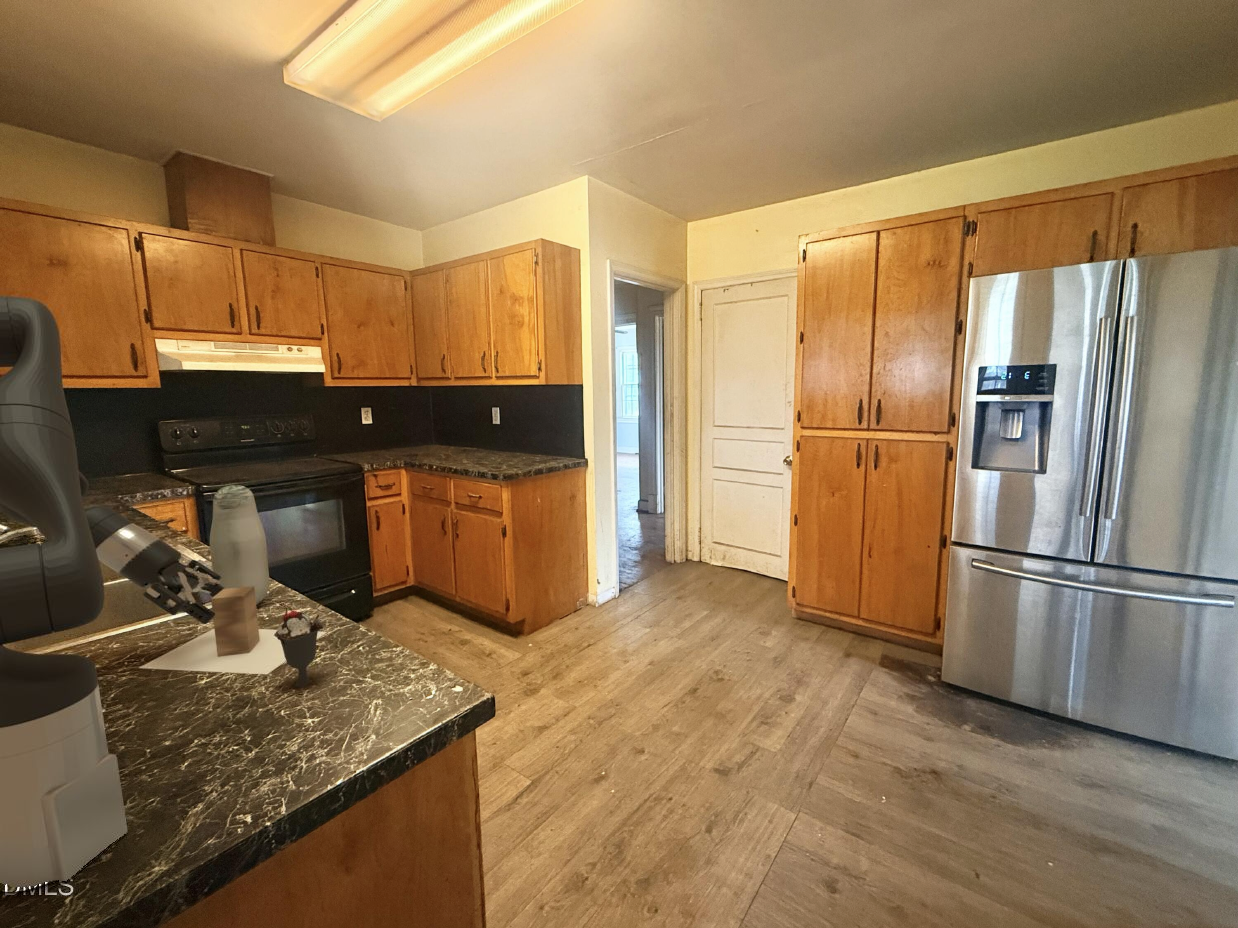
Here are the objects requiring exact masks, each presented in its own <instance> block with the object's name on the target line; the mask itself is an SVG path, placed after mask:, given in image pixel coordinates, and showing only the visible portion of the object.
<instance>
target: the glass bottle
mask: <svg viewBox="0 0 1238 928" xmlns="http://www.w3.org/2000/svg"><path fill="white" fill-rule="evenodd" d="M267 547H268V546H267V537H266V532H265V529H264V526H263V524H262V521H261V518H260V516H259V513H258V509H257V504H256V501H255V497H254V494H253V492H252V491H251V489H249V488H248V487H246V486H244V485H240V484H236V485H235V484H233V485H226V486H223V487H221V488H220V489H218V490H217V491H216V492H215V494H214V496H213V500H212V521H211V528H210V534H209V551H210V558H211V565H212V571H213V572H215V573H217V574H218V575H220V576H221V579H220V580H219V582H220V585H221V586H222V587H224V588H225V589H228V588H239V587H250V586H254V589H255V599H256V606H257V605H258V604H259V603H261V602H263V600H264V599H265V597H266V596H267V594H268V592H269V590H270V589H269V588H270V573H269V561H268V548H267Z"/></svg>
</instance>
